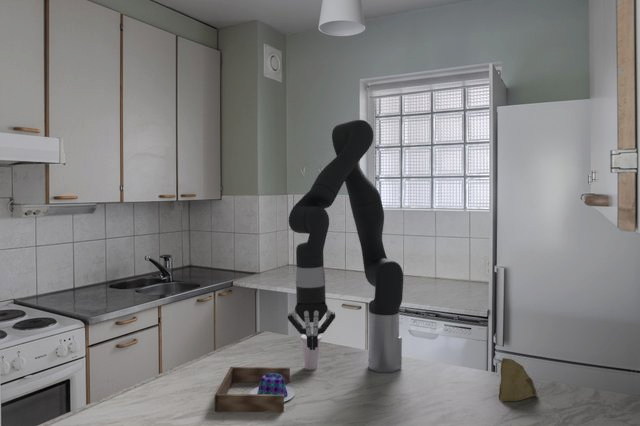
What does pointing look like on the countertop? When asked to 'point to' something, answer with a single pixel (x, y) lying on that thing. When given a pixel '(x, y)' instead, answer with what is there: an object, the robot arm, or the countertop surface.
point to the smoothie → (310, 352)
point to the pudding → (273, 386)
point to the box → (249, 400)
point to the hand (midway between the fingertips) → (312, 348)
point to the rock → (515, 382)
